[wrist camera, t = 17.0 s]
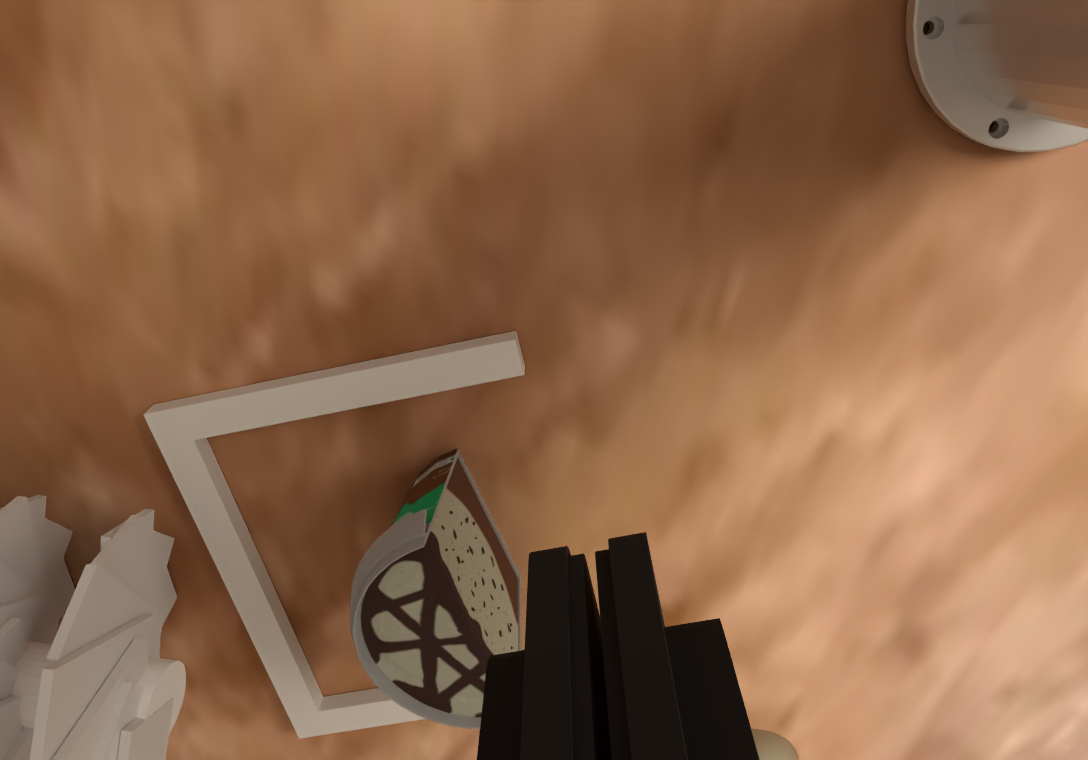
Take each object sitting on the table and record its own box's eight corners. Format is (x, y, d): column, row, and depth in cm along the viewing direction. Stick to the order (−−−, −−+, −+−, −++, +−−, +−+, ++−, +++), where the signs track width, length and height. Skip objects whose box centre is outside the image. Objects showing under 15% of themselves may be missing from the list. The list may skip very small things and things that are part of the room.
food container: (345, 460, 44) (291, 576, 35) (446, 425, 43) (418, 535, 34) (437, 623, 49) (410, 762, 40) (530, 595, 48) (524, 731, 39)
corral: (516, 330, 41) (515, 339, 39) (602, 676, 50) (603, 690, 49) (153, 404, 43) (143, 414, 41) (304, 723, 52) (299, 738, 51)
